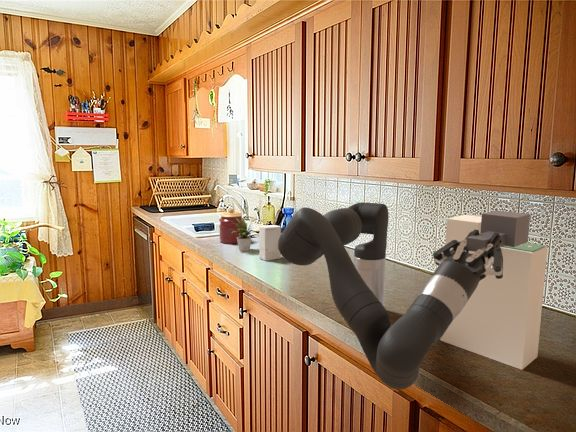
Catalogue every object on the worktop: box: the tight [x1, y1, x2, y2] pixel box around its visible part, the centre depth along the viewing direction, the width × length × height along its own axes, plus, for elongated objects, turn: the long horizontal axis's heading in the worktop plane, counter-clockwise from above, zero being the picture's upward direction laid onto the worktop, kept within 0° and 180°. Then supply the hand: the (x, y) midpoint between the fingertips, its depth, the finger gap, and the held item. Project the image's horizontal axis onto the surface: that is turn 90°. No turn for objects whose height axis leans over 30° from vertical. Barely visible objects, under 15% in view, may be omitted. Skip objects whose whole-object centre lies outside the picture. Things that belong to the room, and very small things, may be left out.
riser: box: [439, 214, 548, 371], centre depth 105 cm, size 20×9×32 cm, turn 41°
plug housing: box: [466, 210, 531, 252], centre depth 89 cm, size 7×16×6 cm, turn 131°
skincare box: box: [258, 224, 282, 262], centre depth 194 cm, size 8×6×15 cm
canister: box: [218, 208, 245, 245], centre depth 228 cm, size 13×13×18 cm
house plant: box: [232, 218, 255, 252], centre depth 210 cm, size 14×14×16 cm
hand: (487, 234), depth 87 cm, fingers closed on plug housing, 3 cm apart
